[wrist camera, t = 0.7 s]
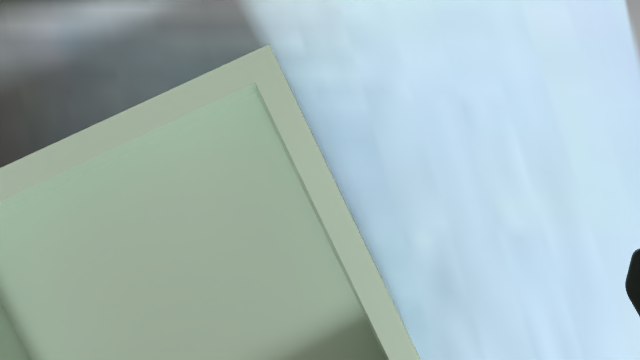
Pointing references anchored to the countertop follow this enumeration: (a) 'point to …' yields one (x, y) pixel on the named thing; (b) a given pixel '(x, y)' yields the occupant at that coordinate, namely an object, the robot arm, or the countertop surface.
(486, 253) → the countertop surface
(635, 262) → the robot arm
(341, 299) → the tray
